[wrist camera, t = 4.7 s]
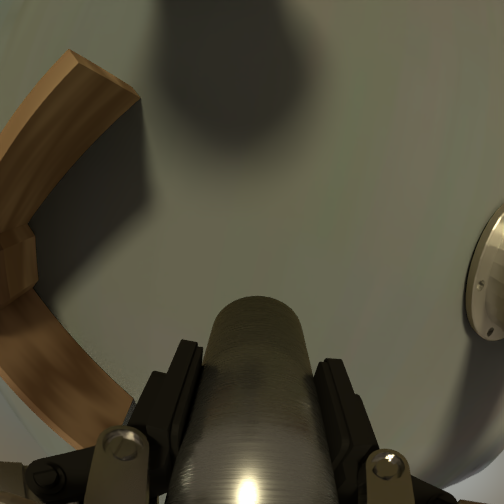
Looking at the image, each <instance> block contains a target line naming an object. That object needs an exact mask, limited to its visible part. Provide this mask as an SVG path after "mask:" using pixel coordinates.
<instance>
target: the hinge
mask: <svg viewBox="0 0 504 504" xmlns="http://www.w3.org/2000/svg"><path fill="white" fill-rule="evenodd" d="M139 99H140V97H139V95H138V94H137V93H136V92H135V90H134V89H133V88H132V87H131V86H129V85H128V84H126V83H125V82H123V81H122V80H120V79H118V78H117V77H115V76H114V75H112V74H110V73H109V72H107V71H106V70H104V69H102V68H101V67H99V66H97V65H96V64H94V63H92V62H91V61H89V60H87V59H86V58H84V57H82V56H80V55H79V54H77V53H75V52H73V51H72V50H70V49H68V50H67V51H66V52H65V53H64V54H63V55H62V56H61V57H60V58H59V60H58V61H57V62H56V63H55V64H54V65H53V66H52V67H51V68H50V69H49V70H48V72H47V73H46V74H45V75H44V76H43V77H42V78H41V80H40V81H39V82H38V83H37V84H36V86H35V87H34V88H33V89H32V90H31V92H30V93H29V94H28V96H27V97H26V98H25V99H24V101H23V102H22V103H21V105H20V106H19V107H18V109H17V110H16V112H15V113H14V114H13V116H12V117H11V119H10V120H9V121H8V123H7V124H6V126H5V127H4V129H3V130H2V132H1V134H0V376H1V377H2V379H3V380H4V381H5V382H6V383H7V384H8V385H9V387H10V388H11V389H12V390H13V391H14V392H15V393H16V394H17V395H18V397H19V398H20V399H21V400H22V401H23V402H24V403H25V404H26V405H27V406H28V407H29V408H30V409H31V410H32V411H33V412H34V413H35V414H36V415H37V416H38V417H39V418H40V419H41V420H42V421H44V422H45V423H46V424H47V425H48V426H49V427H50V428H51V429H52V430H53V431H55V432H56V433H57V434H58V435H59V436H60V437H62V438H63V439H64V440H65V441H66V442H68V443H69V444H70V445H71V446H72V447H74V448H75V449H76V450H80V449H84V448H88V447H91V446H95V445H96V442H97V439H98V437H99V435H100V433H102V432H103V431H104V430H105V429H107V428H109V427H111V426H116V425H122V424H123V421H124V419H125V417H126V414H127V412H128V410H129V407H130V405H131V403H132V401H133V398H132V397H131V396H130V395H129V394H128V393H127V392H125V391H124V390H123V389H122V388H121V387H120V386H119V385H118V384H117V383H116V382H115V381H114V380H113V379H111V378H110V377H109V376H108V375H107V374H106V373H105V372H104V371H103V370H102V369H101V368H100V367H99V366H98V365H97V364H96V363H95V362H94V361H93V360H92V359H91V357H90V356H89V355H88V354H87V353H86V352H85V351H84V350H83V349H82V348H81V347H80V346H79V345H78V343H77V342H76V341H75V340H74V339H73V338H72V337H71V336H70V334H69V333H68V332H67V331H66V330H65V329H64V327H63V326H62V325H61V324H60V323H59V321H58V320H57V319H56V318H55V317H54V315H53V314H52V313H51V312H50V310H49V309H48V308H47V306H46V305H45V304H44V303H43V301H42V300H41V299H40V297H39V296H38V295H37V293H36V292H35V290H34V289H33V286H34V285H35V284H36V282H37V281H38V280H39V279H38V269H37V258H36V242H35V235H34V233H33V232H32V230H31V229H30V227H29V225H28V224H27V223H28V222H29V220H30V219H31V218H32V216H33V215H34V213H35V212H36V211H37V209H38V208H39V207H40V205H41V204H42V203H43V201H44V200H45V199H46V197H47V196H48V195H49V193H50V192H51V191H52V190H53V188H54V187H55V186H56V185H57V183H58V182H59V181H60V180H61V179H62V177H63V176H64V175H65V174H66V173H67V171H68V170H69V169H70V168H71V167H72V166H73V164H74V163H75V162H76V161H77V160H78V159H79V158H80V157H81V156H82V154H83V153H84V152H85V151H86V150H87V149H88V148H89V147H90V146H91V145H92V144H93V143H94V142H95V141H96V140H97V139H98V138H99V137H100V136H101V135H102V134H103V133H104V132H105V131H106V130H107V129H108V128H109V127H110V126H111V125H112V124H113V123H114V122H115V121H116V120H117V119H118V118H119V117H120V116H121V115H122V114H123V113H125V112H126V111H127V110H128V109H129V108H130V107H131V106H132V105H133V104H135V103H136V102H137V101H138V100H139Z"/></svg>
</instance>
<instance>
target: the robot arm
mask: <svg viewBox="0 0 504 504" xmlns="http://www.w3.org/2000/svg"><path fill="white" fill-rule="evenodd" d="M466 311H467V317H468V320H469V323H470V325H471V327H472V328H473V330H474V331H475V332H476V333H477V334H478V335H480V336H481V337H482V338H483V339H486V340H489V341H497V340H500V339H503V338H504V204H503V205H502V206H501V207H500V208H498V209H497V211H496V212H495V213H494V215H493V216H492V218H491V219H490V220H489V222H488V224H487V226H486V227H485V229H484V231H483V233H482V235H481V237H480V240H479V242H478V245H477V247H476V250H475V253H474V256H473V259H472V262H471V266H470V271H469V275H468V280H467V288H466ZM202 355H203V347H198V343H197V342H193V341H188V340H183V339H182V340H181V341H180V344H179V346H178V348H177V351H176V353H175V355H174V358H173V360H172V362H171V365H170V367H169V370H168V372H167V373H162V372H158V371H153V372H152V374H151V376H150V378H149V380H148V382H147V384H146V386H145V388H144V390H143V392H142V394H141V396H140V399H139V401H138V403H137V405H136V407H135V409H134V411H133V413H132V416H131V418H130V420H129V422H128V424H127V426H126V425H116V426H111V427H109V428H107V429H105V430H104V431H103V432H102V433H100V435H99V437H98V439H97V442H96V445H95V446H91V447H88V448H84V449H80V450H76V451H72V452H68V453H64V454H60V455H55V456H51V457H46V458H41V459H38V460H35V461H33V462H32V463H31V464H29V466H27V465H26V466H25V465H23V464H22V463H20V462H3V461H0V504H159V496H160V495H162V494H164V493H167V492H168V488H169V484H170V480H171V476H172V472H173V468H174V465H175V461H176V457H177V454H178V452H179V448H180V444H181V440H182V436H183V433H184V429H185V425H186V422H187V418H188V414H189V410H190V407H191V403H192V399H193V396H194V392H195V388H196V385H197V381H198V378H199V374H200V370H201V367H202ZM314 382H315V387H316V391H317V396H318V400H319V405H320V410H321V414H322V419H323V424H324V429H325V433H326V438H327V443H328V448H329V453H330V458H331V463H332V468H333V473H334V478H335V484H336V489H337V495H338V500H339V504H486V503H479V502H472V501H466V500H459V501H458V502H457V501H456V499H455V498H454V496H453V495H451V494H450V493H448V492H446V491H444V490H441V489H439V488H437V487H435V486H433V485H430V484H428V483H426V482H424V481H422V480H420V479H418V478H416V477H414V476H412V475H411V474H410V468H409V464H408V462H407V460H406V458H405V457H404V456H403V455H402V454H400V453H399V452H397V451H395V450H392V449H379V446H378V443H377V440H376V437H375V435H374V432H373V429H372V426H371V424H370V421H369V418H368V416H367V413H366V410H365V407H364V405H363V402H362V400H361V398H360V396H359V395H358V394H355V393H354V391H353V388H352V385H351V382H350V380H349V377H348V374H347V372H346V369H345V367H344V364H343V361H342V360H341V359H331V358H326V359H325V360H324V362H319V364H318V366H317V369H316V372H315V375H314Z"/></svg>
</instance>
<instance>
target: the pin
mask: <svg viewBox="0 0 504 504" xmlns="http://www.w3.org/2000/svg"><path fill="white" fill-rule="evenodd" d="M164 504H339V500H338V495H337V489H336V484H335V478H334V473H333V468H332V463H331V458H330V453H329V448H328V443H327V438H326V433H325V429H324V424H323V419H322V414H321V410H320V405H319V400H318V396H317V391H316V387H315V382H314V378H313V374H312V369H311V365H310V360H309V356H308V352H307V348H306V343H305V339H304V335H303V331H302V327H301V323H300V321H299V319H298V317H297V315H296V314H295V313H294V311H293V310H292V309H291V308H290V307H288V306H287V305H286V304H284V303H283V302H281V301H278V300H276V299H273V298H270V297H265V296H250V297H244V298H241V299H238V300H235V301H233V302H232V303H230V304H228V305H227V306H226V307H224V308H223V309H222V310H221V311H220V313H219V314H218V315H217V317H216V319H215V321H214V324H213V327H212V330H211V334H210V337H209V341H208V344H207V348H206V351H205V355H204V358H203V362H202V367H201V370H200V374H199V378H198V381H197V385H196V388H195V392H194V396H193V399H192V403H191V407H190V410H189V414H188V418H187V422H186V425H185V429H184V433H183V436H182V440H181V444H180V448H179V452H178V454H177V457H176V461H175V465H174V468H173V472H172V476H171V480H170V484H169V488H168V492H167V496H166V499H165V503H164Z"/></svg>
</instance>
